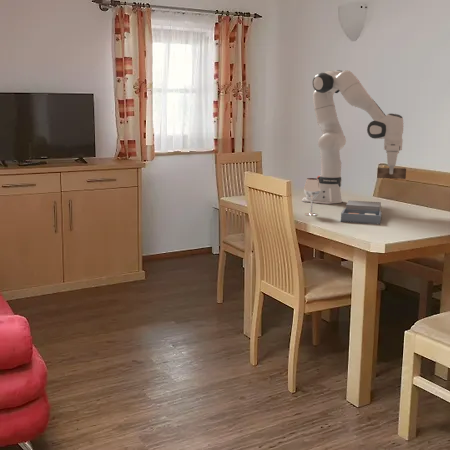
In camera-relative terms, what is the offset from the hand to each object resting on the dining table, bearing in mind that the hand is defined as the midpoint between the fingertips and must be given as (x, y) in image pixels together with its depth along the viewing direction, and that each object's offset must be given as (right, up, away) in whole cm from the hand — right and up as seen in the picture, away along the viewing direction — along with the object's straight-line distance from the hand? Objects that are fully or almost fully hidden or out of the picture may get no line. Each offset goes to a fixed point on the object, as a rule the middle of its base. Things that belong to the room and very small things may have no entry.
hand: (391, 173), depth 311 cm
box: (-19, -24, -18) cm, 36 cm away
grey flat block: (-16, -21, -6) cm, 27 cm away
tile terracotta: (-23, -21, -19) cm, 37 cm away
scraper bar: (0, -2, 0) cm, 2 cm away
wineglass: (-42, -21, -5) cm, 47 cm away
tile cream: (-16, -21, -20) cm, 33 cm away
